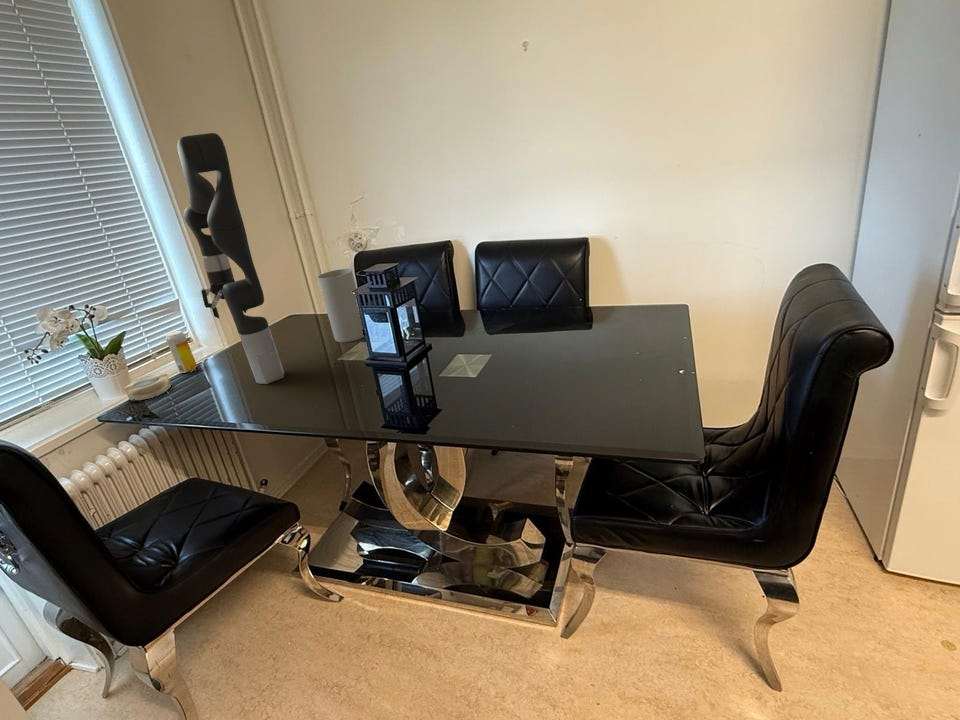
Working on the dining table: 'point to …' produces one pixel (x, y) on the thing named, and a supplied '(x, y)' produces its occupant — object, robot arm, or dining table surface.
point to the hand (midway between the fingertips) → (231, 315)
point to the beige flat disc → (148, 387)
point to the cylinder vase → (341, 304)
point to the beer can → (181, 351)
